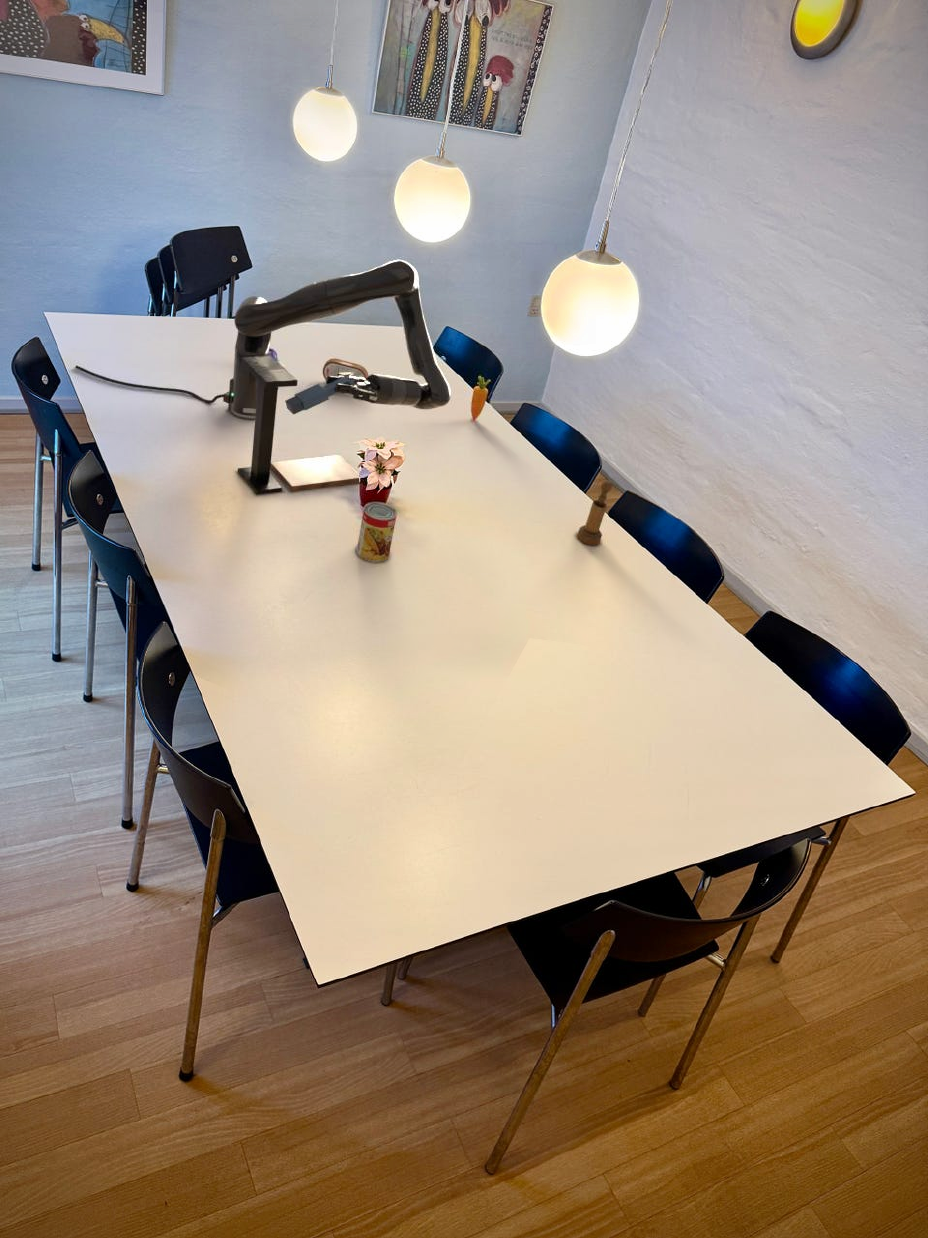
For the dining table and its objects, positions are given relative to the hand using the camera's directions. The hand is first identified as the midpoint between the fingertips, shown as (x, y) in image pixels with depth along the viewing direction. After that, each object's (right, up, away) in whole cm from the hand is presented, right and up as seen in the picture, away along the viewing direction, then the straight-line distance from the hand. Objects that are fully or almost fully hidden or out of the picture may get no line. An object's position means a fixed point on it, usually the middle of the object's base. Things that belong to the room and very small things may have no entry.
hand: (331, 384), depth 224 cm
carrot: (+37, +6, +68) cm, 77 cm away
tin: (-6, +17, +67) cm, 69 cm away
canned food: (+11, -44, -9) cm, 46 cm away
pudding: (-32, +24, +67) cm, 77 cm away
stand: (-20, -24, +6) cm, 32 cm away
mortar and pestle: (+68, -38, +19) cm, 80 cm away
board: (-6, -21, +15) cm, 26 cm away
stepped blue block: (-3, -3, +1) cm, 4 cm away
